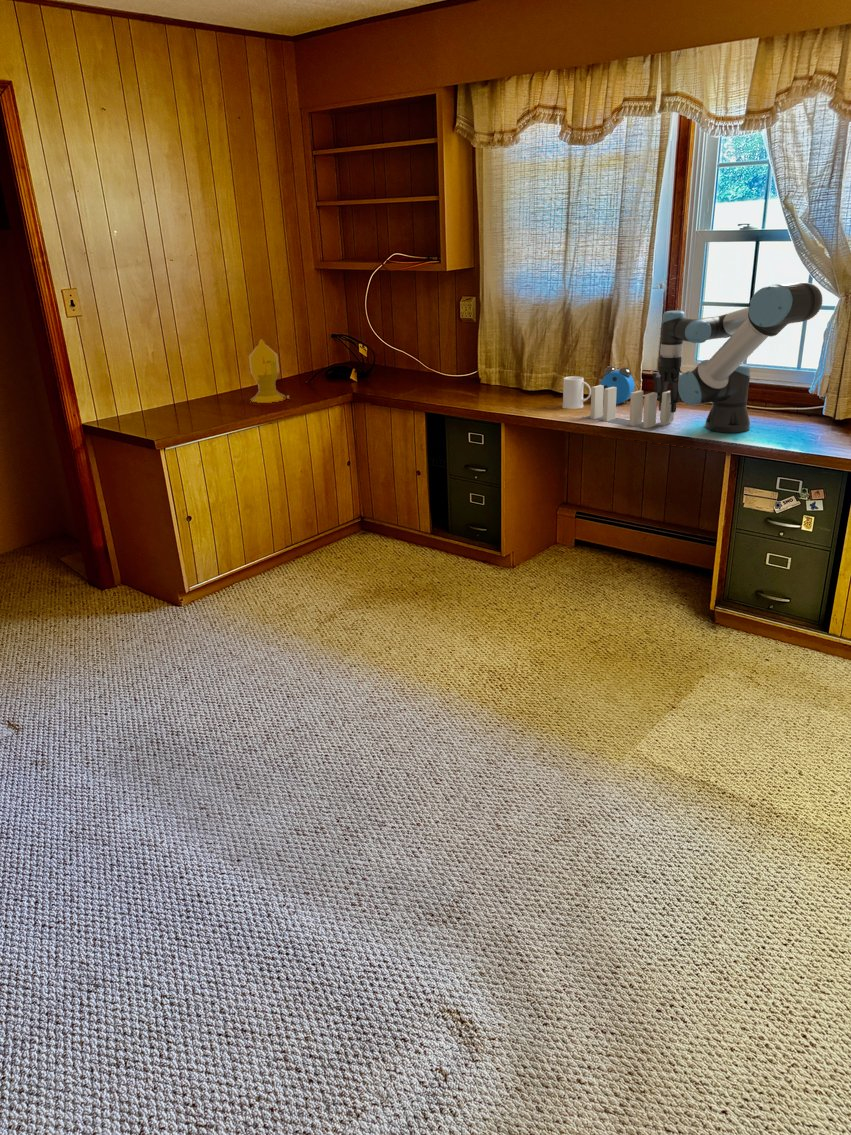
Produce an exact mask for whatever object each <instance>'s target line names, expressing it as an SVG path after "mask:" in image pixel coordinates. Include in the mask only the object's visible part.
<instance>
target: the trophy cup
mask: <svg viewBox="0 0 851 1135" xmlns="http://www.w3.org/2000/svg"><path fill="white" fill-rule="evenodd" d="M248 359H249V360H248V361H249V368H250V374H251V376H252V377H253V379H254V380H255V382H256V383H257V387H258V391H257V392H256V394H255V395H254V396H253V397H251V398H250V399H249V400H251V401H252V402H257V403H272V402H279V401H283V400H285V399H286V398H287V399H289V400H290V395H289V394H288V395H285V394H283V393H281V392H280V391H278V389H277V386H276V381H277V379H278V376H279V374H280V365H279V356H278V353H277V352H275V351H274V350H273V349H272V348H271V347H270V346H269V345H267V344H266V342H265V340H263V339H262V338H261V339H259V341H258V345H257V346H255V347H254V349H253V351H252V352H251V353H250V354H249V356H248ZM251 401H250V402H251Z"/></svg>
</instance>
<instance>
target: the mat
mask: <svg viewBox="0 0 851 1135" xmlns="http://www.w3.org/2000/svg"><path fill="white" fill-rule="evenodd" d="M582 419H585V420H592V421H597V422H601V423H602V422H604V423H608V424H613V425H615V424H616V425H620V426H626V427H631V428H637V429H641V430H648V431H655V430H657V429H661V428H664V427H665V425H662V424H656V425H655V426H652V427H649V428H643V421H642V423H641V424H637V425H634V426H632V425H629V422H630V419H626V418H619V417H615V419H612V420H609V421H603V417H599V418H596V419H592V418H591V414H590V415H586V416H583V417H582Z"/></svg>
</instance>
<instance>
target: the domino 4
mask: <svg viewBox="0 0 851 1135" xmlns="http://www.w3.org/2000/svg"><path fill="white" fill-rule="evenodd" d="M643 404H644V405H643V417H642V422H643V428H649V427H652V426H655V425H657V424H656V423H657V422H656V420H657V406H658V400H657V393H655V392H653V391H652V392H650V393H647V394H646V393H645V394H644V399H643Z"/></svg>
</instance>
